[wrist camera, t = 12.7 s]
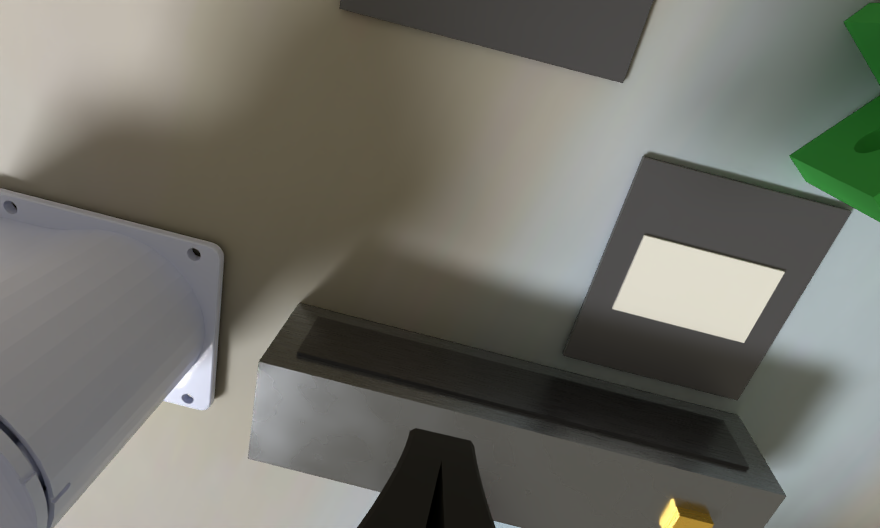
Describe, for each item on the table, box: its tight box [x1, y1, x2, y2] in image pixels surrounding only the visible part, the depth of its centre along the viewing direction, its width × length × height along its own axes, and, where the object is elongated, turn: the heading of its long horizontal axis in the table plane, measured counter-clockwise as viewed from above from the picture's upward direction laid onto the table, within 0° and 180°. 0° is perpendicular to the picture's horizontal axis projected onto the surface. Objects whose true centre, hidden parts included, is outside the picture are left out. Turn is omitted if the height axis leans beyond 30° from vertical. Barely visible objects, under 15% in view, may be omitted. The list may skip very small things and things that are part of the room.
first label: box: [563, 156, 851, 400], centre depth 19 cm, size 7×8×1 cm
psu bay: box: [248, 303, 786, 528], centre depth 21 cm, size 18×5×4 cm, turn 77°
